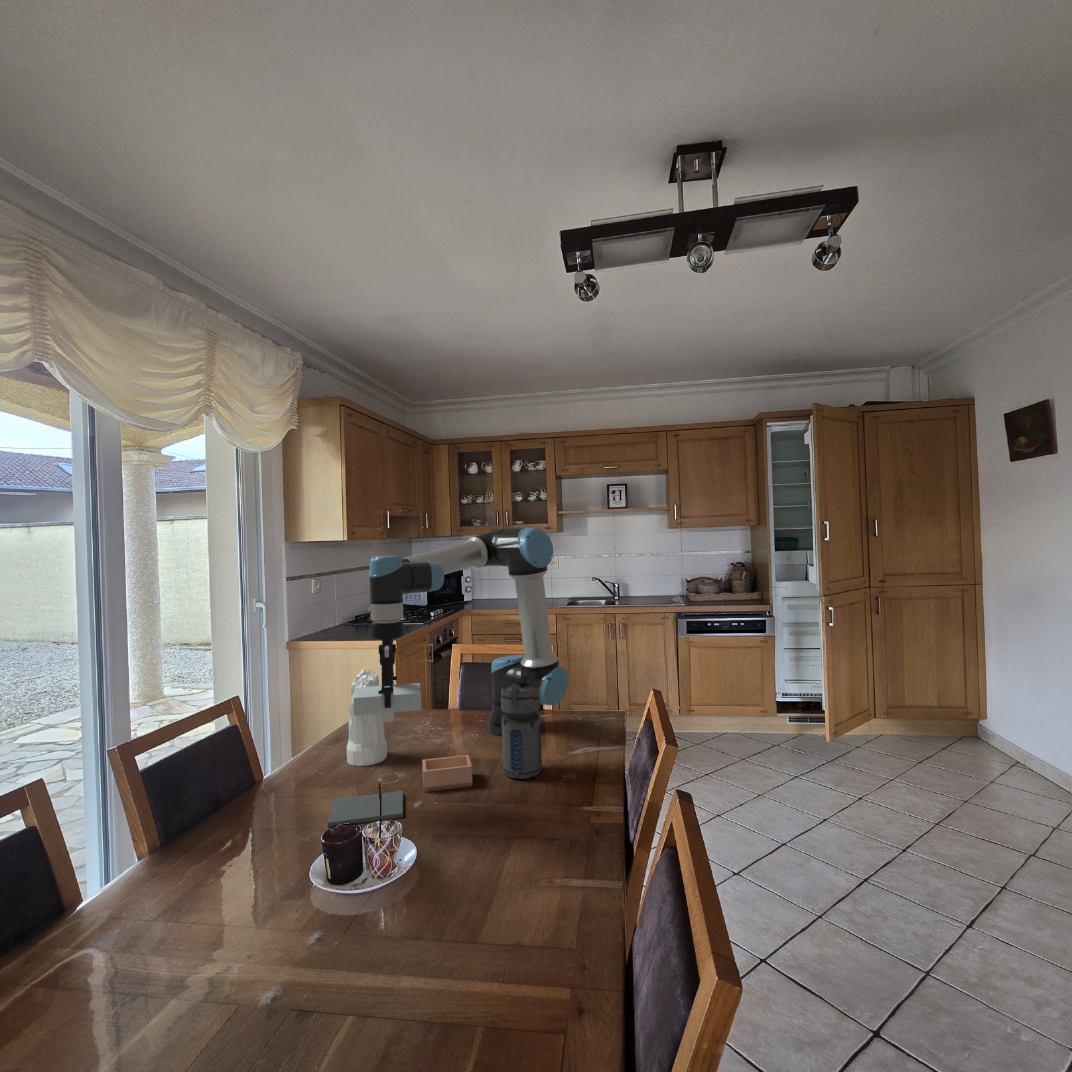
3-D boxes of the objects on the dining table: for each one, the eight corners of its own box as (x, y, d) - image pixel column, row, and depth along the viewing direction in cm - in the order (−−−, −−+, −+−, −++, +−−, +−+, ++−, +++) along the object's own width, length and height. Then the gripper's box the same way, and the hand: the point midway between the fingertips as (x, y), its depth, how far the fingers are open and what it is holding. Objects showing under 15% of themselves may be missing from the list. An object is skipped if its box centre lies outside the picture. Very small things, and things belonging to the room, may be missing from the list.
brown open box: (469, 773, 157) (468, 754, 157) (472, 786, 149) (471, 766, 149) (422, 779, 154) (422, 759, 154) (423, 792, 147) (423, 771, 147)
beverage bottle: (547, 763, 162) (545, 671, 162) (536, 783, 149) (533, 684, 149) (512, 760, 165) (509, 670, 165) (497, 780, 152) (494, 683, 152)
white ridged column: (380, 765, 164) (377, 675, 164) (341, 766, 164) (338, 676, 164) (390, 751, 175) (388, 666, 175) (354, 752, 175) (351, 667, 175)
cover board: (420, 699, 148) (419, 683, 148) (421, 710, 138) (421, 693, 138) (357, 703, 145) (356, 687, 145) (354, 715, 135) (353, 698, 135)
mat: (402, 794, 146) (402, 790, 146) (402, 817, 134) (402, 813, 134) (334, 803, 142) (334, 798, 142) (327, 827, 130) (327, 822, 130)
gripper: (372, 615, 152) (374, 703, 152) (367, 628, 130) (369, 730, 130) (403, 614, 153) (404, 700, 153) (403, 626, 131) (405, 727, 131)
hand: (388, 714), depth 142 cm, fingers closed on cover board, 10 cm apart
